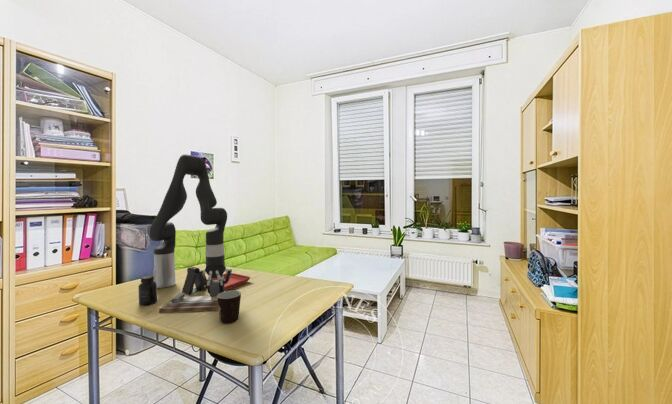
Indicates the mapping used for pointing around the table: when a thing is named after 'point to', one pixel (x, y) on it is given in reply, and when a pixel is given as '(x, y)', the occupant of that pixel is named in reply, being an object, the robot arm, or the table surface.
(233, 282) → the plant saucer
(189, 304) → the slider puzzle board
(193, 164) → the robot arm
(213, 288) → the leg
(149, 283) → the supplement bottle
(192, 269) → the phone stand
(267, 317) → the table surface
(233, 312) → the coffee mug
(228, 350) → the table surface
